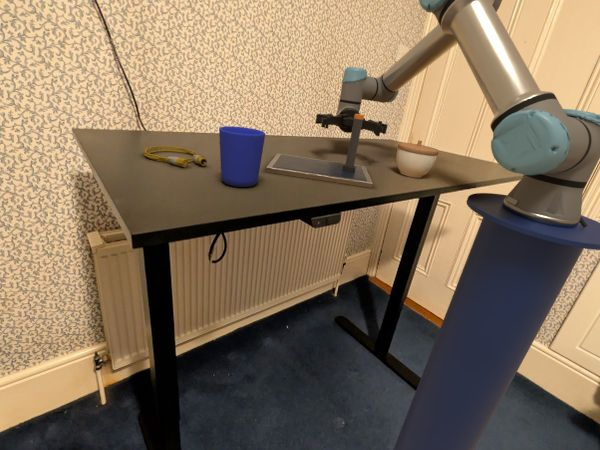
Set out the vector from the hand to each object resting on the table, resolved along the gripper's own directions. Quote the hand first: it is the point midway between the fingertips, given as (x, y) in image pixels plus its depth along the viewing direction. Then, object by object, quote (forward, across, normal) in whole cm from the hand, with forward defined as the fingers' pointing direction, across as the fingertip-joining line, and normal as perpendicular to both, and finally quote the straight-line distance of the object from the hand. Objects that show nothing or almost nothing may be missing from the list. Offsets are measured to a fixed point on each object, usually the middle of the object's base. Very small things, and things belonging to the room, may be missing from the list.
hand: (353, 127), depth 85 cm
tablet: (+10, +7, -10) cm, 16 cm away
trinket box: (-2, -18, -11) cm, 21 cm away
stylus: (+10, 0, -9) cm, 13 cm away
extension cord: (+19, +40, -11) cm, 45 cm away
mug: (+28, +23, -11) cm, 38 cm away
